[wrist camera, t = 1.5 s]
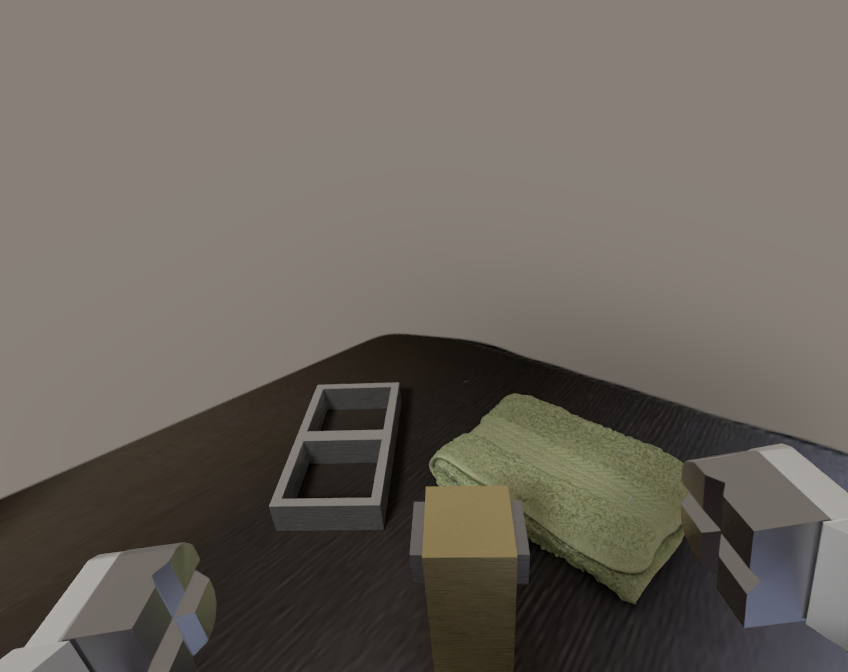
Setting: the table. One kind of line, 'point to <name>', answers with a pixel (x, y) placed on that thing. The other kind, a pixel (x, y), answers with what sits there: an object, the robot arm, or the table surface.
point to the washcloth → (576, 488)
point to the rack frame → (339, 461)
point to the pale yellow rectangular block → (470, 574)
